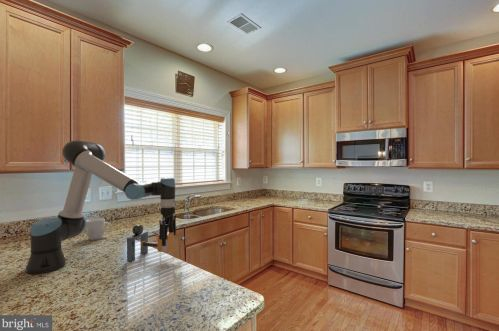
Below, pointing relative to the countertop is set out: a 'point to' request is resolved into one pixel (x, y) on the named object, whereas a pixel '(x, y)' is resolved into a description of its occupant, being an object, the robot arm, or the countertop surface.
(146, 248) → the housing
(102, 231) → the mug
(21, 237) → the countertop surface
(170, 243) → the plug
